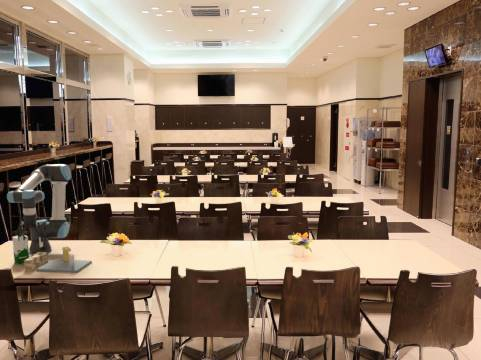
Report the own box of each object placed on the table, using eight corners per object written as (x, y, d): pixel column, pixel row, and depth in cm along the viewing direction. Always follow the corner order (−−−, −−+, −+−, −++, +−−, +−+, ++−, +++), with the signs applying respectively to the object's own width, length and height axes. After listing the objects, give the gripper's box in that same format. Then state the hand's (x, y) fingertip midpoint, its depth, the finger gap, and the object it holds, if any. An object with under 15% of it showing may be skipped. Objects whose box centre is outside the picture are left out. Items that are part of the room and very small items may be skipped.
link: (39, 262, 310) (38, 252, 309) (47, 262, 309) (47, 252, 308) (23, 270, 291) (22, 260, 291) (32, 271, 291) (31, 260, 290)
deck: (54, 261, 312) (53, 245, 310) (91, 262, 308) (91, 247, 307) (36, 271, 291) (35, 254, 289) (76, 272, 287) (75, 256, 286)
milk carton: (17, 265, 303) (15, 235, 301) (12, 262, 310) (10, 233, 307) (30, 262, 310) (29, 233, 307) (26, 259, 316) (24, 231, 313)
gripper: (8, 214, 290) (10, 247, 293) (44, 215, 287) (46, 248, 290) (15, 212, 298) (17, 244, 300) (50, 213, 295) (52, 245, 297)
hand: (31, 246), depth 295 cm, fingers open, 13 cm apart
